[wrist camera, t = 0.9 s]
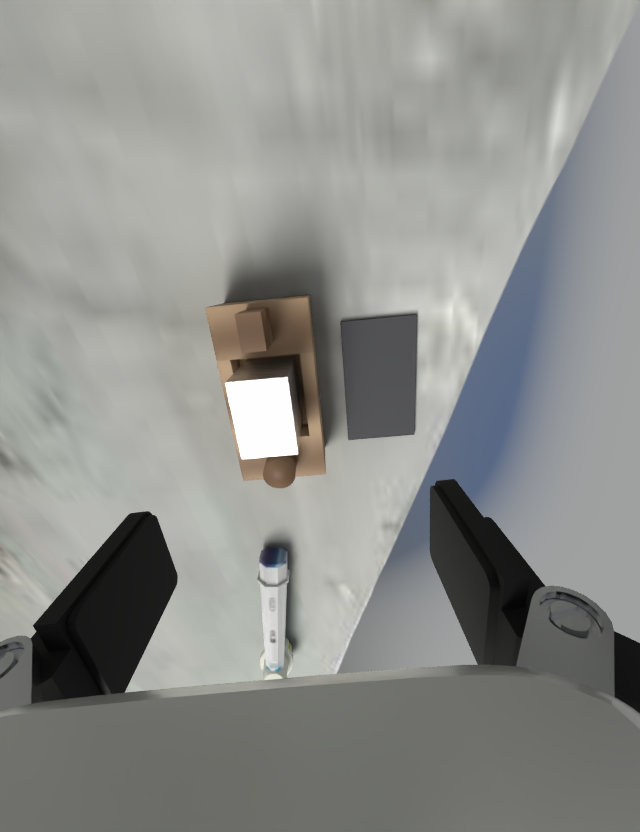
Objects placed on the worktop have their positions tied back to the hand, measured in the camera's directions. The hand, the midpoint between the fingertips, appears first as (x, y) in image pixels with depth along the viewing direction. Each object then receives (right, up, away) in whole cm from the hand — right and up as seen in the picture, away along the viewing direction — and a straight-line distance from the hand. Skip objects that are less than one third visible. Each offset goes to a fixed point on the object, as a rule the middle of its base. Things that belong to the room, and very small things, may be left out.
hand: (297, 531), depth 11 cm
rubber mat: (+8, +8, +26) cm, 28 cm away
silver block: (-4, +7, +23) cm, 24 cm away
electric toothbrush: (-6, -26, +41) cm, 49 cm away
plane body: (-4, +8, +26) cm, 27 cm away
